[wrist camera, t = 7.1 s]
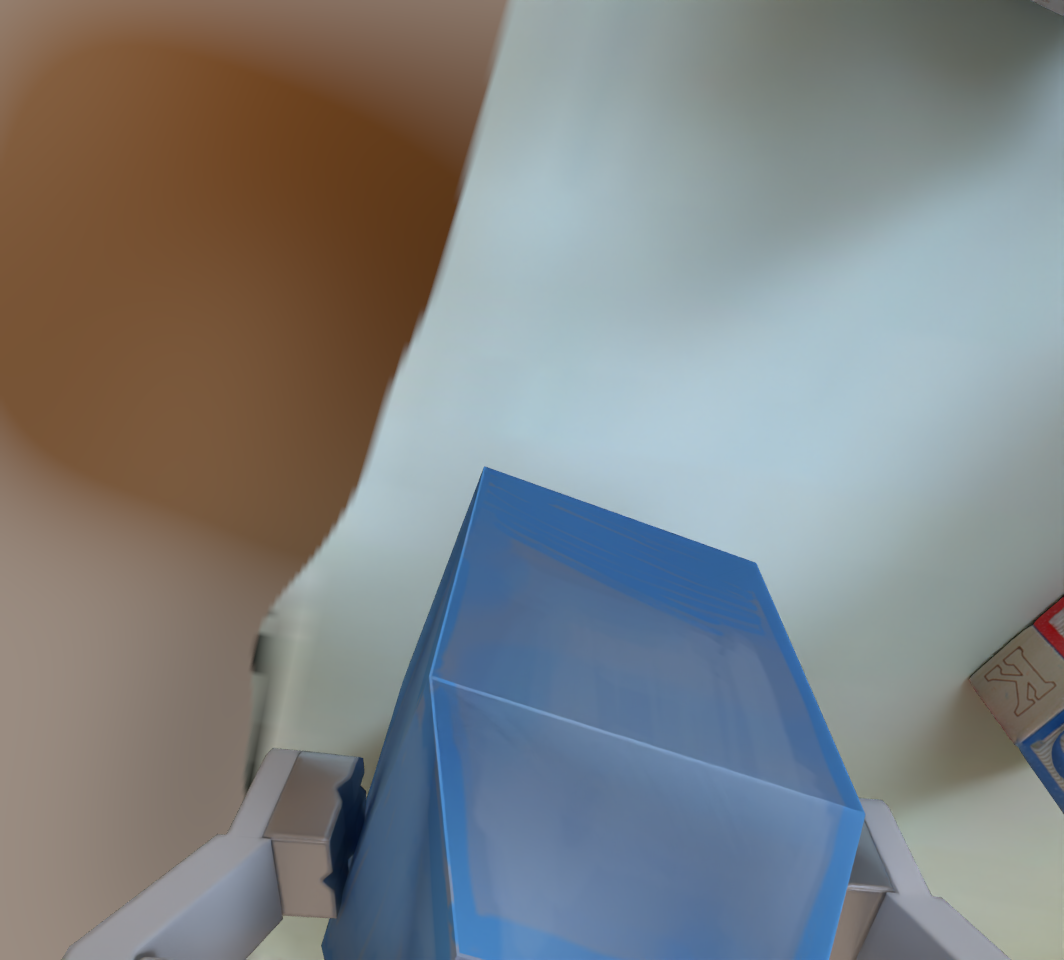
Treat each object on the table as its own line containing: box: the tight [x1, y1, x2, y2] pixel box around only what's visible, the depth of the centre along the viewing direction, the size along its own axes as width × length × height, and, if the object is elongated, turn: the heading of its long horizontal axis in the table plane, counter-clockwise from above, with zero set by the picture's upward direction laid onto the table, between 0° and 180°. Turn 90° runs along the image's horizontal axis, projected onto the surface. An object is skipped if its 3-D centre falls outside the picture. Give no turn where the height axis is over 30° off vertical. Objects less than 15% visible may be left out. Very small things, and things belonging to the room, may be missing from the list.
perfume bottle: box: [321, 466, 866, 960], centre depth 11 cm, size 6×6×12 cm
